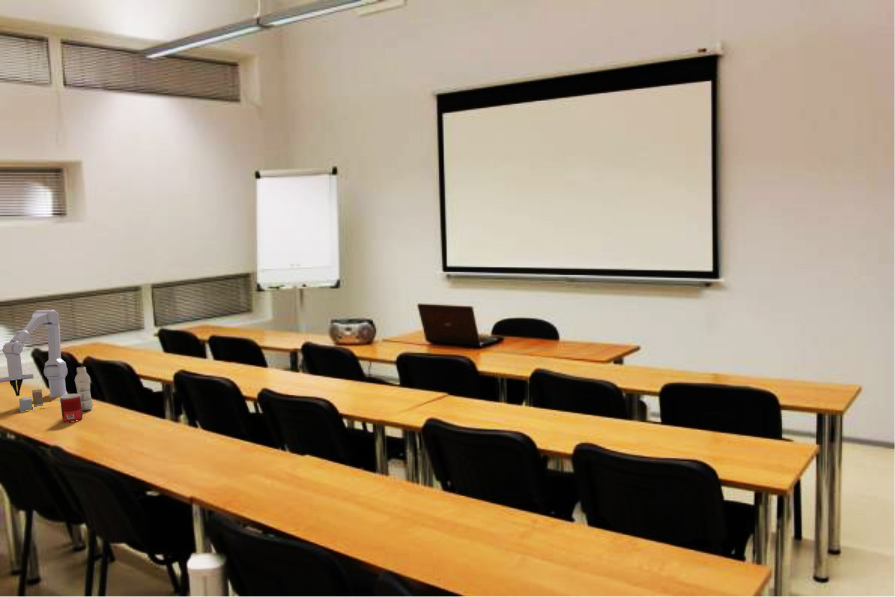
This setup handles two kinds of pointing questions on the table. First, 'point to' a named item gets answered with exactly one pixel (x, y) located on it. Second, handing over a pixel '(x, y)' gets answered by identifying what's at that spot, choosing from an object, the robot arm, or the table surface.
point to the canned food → (71, 407)
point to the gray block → (25, 404)
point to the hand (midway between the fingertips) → (17, 395)
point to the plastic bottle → (83, 388)
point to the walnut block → (37, 397)
